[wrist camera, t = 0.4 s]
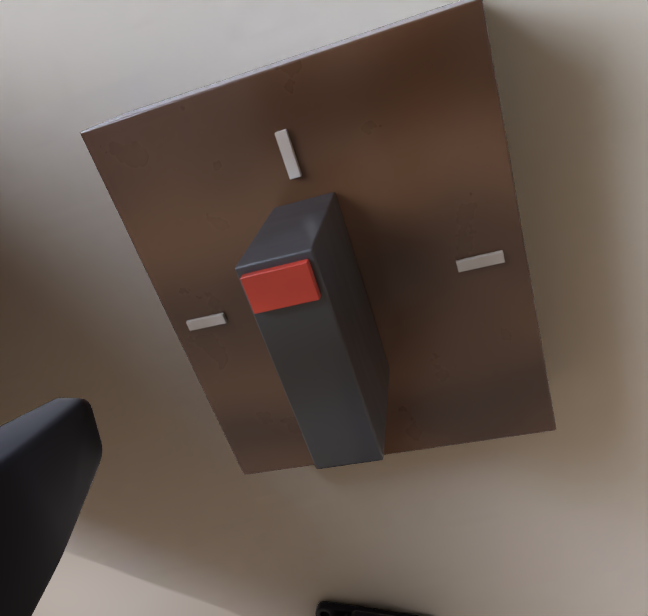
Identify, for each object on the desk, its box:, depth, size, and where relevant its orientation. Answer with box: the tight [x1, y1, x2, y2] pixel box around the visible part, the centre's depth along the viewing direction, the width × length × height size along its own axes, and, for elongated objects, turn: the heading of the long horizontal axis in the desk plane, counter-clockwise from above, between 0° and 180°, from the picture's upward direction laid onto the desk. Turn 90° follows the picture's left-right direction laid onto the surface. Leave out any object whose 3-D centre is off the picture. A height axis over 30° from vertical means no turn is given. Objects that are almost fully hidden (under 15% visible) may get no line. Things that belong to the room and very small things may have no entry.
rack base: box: [80, 0, 556, 475], centre depth 20 cm, size 14×12×3 cm
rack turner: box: [235, 192, 390, 469], centre depth 17 cm, size 6×2×5 cm, turn 17°
